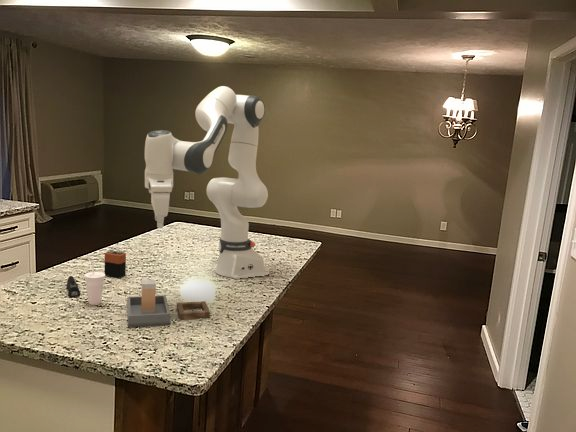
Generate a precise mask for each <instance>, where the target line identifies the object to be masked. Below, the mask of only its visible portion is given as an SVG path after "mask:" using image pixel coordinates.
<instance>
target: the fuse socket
mask: <svg viewBox="0 0 576 432" xmlns="http://www.w3.org/2000/svg"><path fill="white" fill-rule="evenodd" d="M201 309H202V310H201ZM185 310H186V311H185ZM189 310H191V311H189ZM176 311H177V315H178V318H179V321H181V320H199V319H200V318H202V319H211V311H210V309H209V306H208V304H207V301H205V300H203V301H184V302H176Z"/></svg>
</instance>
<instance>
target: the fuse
mask: <svg viewBox="0 0 576 432" xmlns="http://www.w3.org/2000/svg"><path fill="white" fill-rule="evenodd" d="M156 286H157V283H156V280H155V279H142V280H141V289H140V290H141V291H140V292H141V293H140V296H141V314H155V296H156V290H157V289H156V288H157V287H156Z"/></svg>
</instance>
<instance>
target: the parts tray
mask: <svg viewBox="0 0 576 432" xmlns="http://www.w3.org/2000/svg"><path fill="white" fill-rule="evenodd" d="M126 308H127V312H126V313H127V328H140V327H142V328H143V327H156V326H157V327H158V326H159V327H160V326H169V325H171V312H170V308H169V304H168V299H167V296H166V295H165V294H162V295H159V294H158V295H155V314H141V295H138V296H127V302H126Z"/></svg>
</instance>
